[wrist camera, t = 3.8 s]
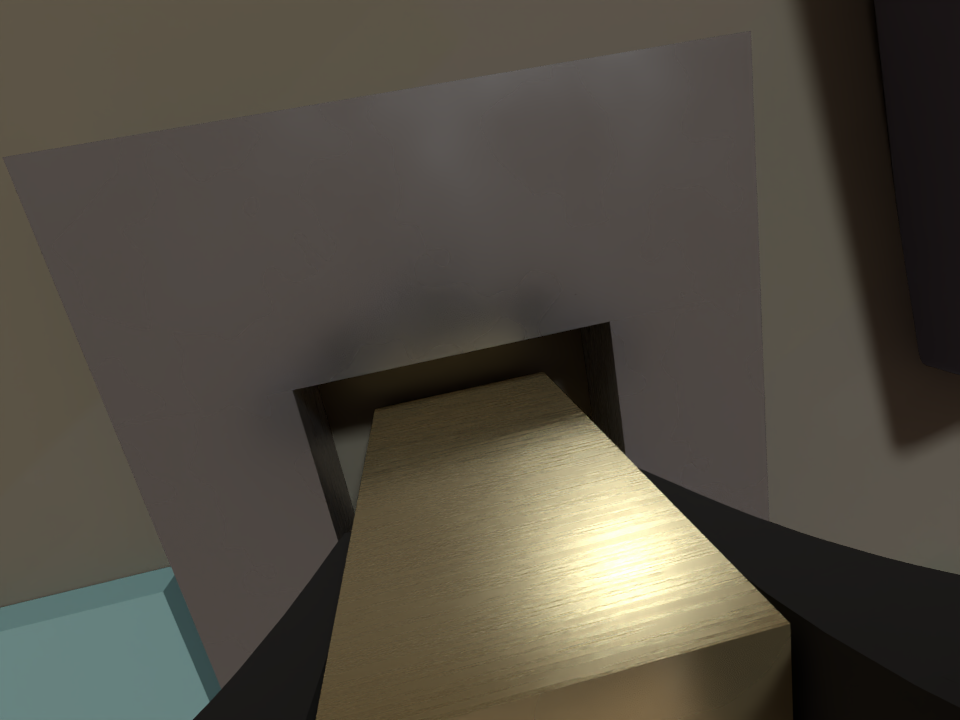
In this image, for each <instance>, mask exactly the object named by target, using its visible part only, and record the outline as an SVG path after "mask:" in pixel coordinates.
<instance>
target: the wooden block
mask: <svg viewBox="0 0 960 720" xmlns="http://www.w3.org/2000/svg"><path fill="white" fill-rule="evenodd" d="M316 720H793V701H792V665H791V628H790V623H789V622H788V621H787V620H786V619H785V618H784V617H783V616H782V615H781V614H780V613H779V612H778V611H777V610H776V609H775V608H774V607H773V605H772V604H771V603H770V602H769V601H768V600H767V599H766V598H765V597H764V596H763V595H762V594H761V593H760V592H759V591H758V590H757V589H756V588H755V587H754V586H753V585H752V584H751V583H750V582H749V581H748V580H747V579H746V578H745V577H744V576H743V575H742V574H741V573H740V572H739V571H738V570H737V569H736V568H735V567H734V566H733V565H732V564H731V563H730V562H729V561H728V560H727V559H726V558H725V557H724V556H723V554H722V553H721V552H720V551H719V550H718V549H717V548H716V547H715V546H714V545H713V544H712V543H711V542H710V541H709V540H708V539H707V538H706V537H705V536H704V535H703V534H702V533H701V532H700V531H699V530H698V529H697V528H696V527H695V526H694V525H693V524H692V523H691V522H690V521H689V520H688V519H687V518H686V517H685V516H684V515H683V514H682V513H681V512H680V511H679V510H678V509H677V508H676V507H675V506H674V505H673V503H672V502H671V501H670V500H669V499H668V498H667V497H666V496H665V495H664V494H663V493H662V492H661V491H660V490H659V489H658V488H657V487H656V486H655V485H654V484H653V483H652V482H651V481H650V480H649V479H648V478H647V477H646V476H645V475H644V474H643V473H642V472H641V471H640V470H639V469H638V468H637V467H636V466H635V465H634V464H633V463H632V462H631V461H630V460H629V459H628V458H627V457H626V456H625V455H624V454H623V452H622V451H621V450H620V449H619V448H618V447H617V446H616V445H615V444H614V443H613V442H612V441H611V440H610V439H609V438H608V437H607V436H606V435H605V434H604V433H603V432H602V431H601V430H600V429H599V428H598V427H597V426H596V425H595V424H594V423H593V422H592V421H591V420H590V419H589V418H588V417H587V416H586V415H585V414H584V413H583V412H582V411H581V410H580V409H579V408H578V407H577V406H576V405H575V404H574V402H573V401H572V400H571V399H570V398H569V397H568V396H567V395H566V394H565V393H564V392H563V391H562V390H561V389H560V388H559V387H558V386H557V385H556V384H555V383H554V382H553V381H552V380H551V379H550V378H549V377H548V376H547V375H546V374H545V373H544V372H540V373H535V374H531V375H526V376H522V377H517V378H513V379H508V380H504V381H499V382H495V383H490V384H486V385H481V386H477V387H472V388H468V389H463V390H459V391H454V392H450V393H445V394H441V395H436V396H432V397H427V398H423V399H418V400H414V401H409V402H405V403H400V404H396V405H391V406H387V407H382V408H378V409H375V412H374V417H373V423H372V428H371V433H370V438H369V443H368V449H367V454H366V459H365V464H364V470H363V475H362V480H361V485H360V490H359V496H358V501H357V506H356V511H355V517H354V522H353V527H352V532H351V537H350V543H349V548H348V553H347V558H346V564H345V569H344V574H343V579H342V584H341V590H340V595H339V600H338V605H337V611H336V616H335V621H334V626H333V631H332V637H331V642H330V647H329V652H328V658H327V663H326V668H325V673H324V678H323V684H322V689H321V694H320V699H319V705H318V710H317V715H316Z"/></svg>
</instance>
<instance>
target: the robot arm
mask: <svg viewBox="0 0 960 720" xmlns="http://www.w3.org/2000/svg"><path fill="white" fill-rule="evenodd" d="M638 469H639V470H640V471H641V472H642V473H643V474H644V475H645V476H646V477H647V478H648V479H649V480H650V481H651V482H652V483H653V484H654V485H655V486H656V487H657V488H658V489H659V490H660V491H661V492H662V493H663V494H664V495H665V496H666V497H667V498H668V499H669V500H670V501H671V502H672V503H673V505H674V506H675V507H676V508H677V509H678V510H679V511H680V512H681V513H682V514H683V515H684V516H685V517H686V518H687V519H688V520H689V521H690V522H691V523H692V524H693V525H694V526H695V527H696V528H697V529H698V530H699V531H700V532H701V533H702V534H703V535H704V536H705V537H706V538H707V539H708V540H709V541H710V542H711V543H712V544H713V545H714V546H715V547H716V548H717V549H718V550H719V551H720V552H721V553H722V554H723V556H724V557H725V558H726V559H727V560H728V561H729V562H730V563H731V564H732V565H733V566H734V567H735V568H736V569H737V570H738V571H739V572H740V573H741V574H742V575H743V576H744V577H745V578H746V579H747V580H748V581H749V582H750V583H751V584H752V585H753V586H754V587H755V588H756V589H757V590H758V591H759V592H760V593H761V594H762V595H763V596H764V597H765V598H766V599H767V600H768V601H769V602H770V603H771V604H772V605H773V607H774V608H775V609H776V610H777V611H778V612H779V613H780V614H781V615H782V616H783V617H784V618H785V619H786V620H787V621H788V622H789V623H790V628H791V665H792V701H793V720H960V575H958V574H953V573H949V572H944V571H940V570H935V569H931V568H926V567H922V566H917V565H913V564H909V563H905V562H901V561H897V560H893V559H889V558H885V557H882V556H878V555H874V554H871V553H867V552H864V551H860V550H857V549H853V548H850V547H846V546H843V545H840V544H836V543H833V542H829V541H826V540H822V539H819V538H816V537H813V536H810V535H807V534H804V533H800V532H797V531H795V530H792V529H789V528H786V527H783V526H781V525H778V524H775V523H772V522H769V521H767V520H764V519H761V518H758V517H755V516H753V515H750V514H748V513H745V512H742V511H740V510H737V509H735V508H732V507H730V506H727V505H725V504H722V503H720V502H717V501H715V500H712V499H710V498H708V497H705V496H703V495H700V494H698V493H696V492H693V491H691V490H689V489H686V488H684V487H682V486H680V485H677V484H675V483H673V482H670V481H668V480H666V479H663V478H661V477H659V476H656V475H654V474H652V473H649V472H647V471H645V470H642V469H640V468H638ZM350 537H351V532H348V533H344V535H343V536H342V537H341V538H340V540H339V541H338V542H337V544H336V545H335V546H334V548H333V549H332V551H331V552H330V553H329V555H328V556H327V557H326V559H325V560H324V562H323V563H322V564H321V566H320V567H319V569H318V570H317V571H316V573H315V574H314V575H313V577H312V578H311V580H310V581H309V582H308V584H307V585H306V586H305V588H304V589H303V590H302V592H301V593H300V594H299V596H298V597H297V598H296V600H295V601H294V602H293V604H292V605H291V606H290V608H289V609H288V610H287V612H286V613H285V614H284V615H283V617H282V618H281V619H280V620H279V622H278V623H277V624H276V625H275V626H274V628H273V629H272V630H271V631H270V632H269V634H268V635H267V636H266V637H265V638H264V640H263V641H262V642H261V643H260V645H259V646H258V647H257V648H256V649H255V651H254V652H253V653H252V654H251V655H250V657H249V658H248V659H247V660H246V662H245V663H244V664H243V665H242V666H241V668H240V669H239V670H238V671H237V672H236V673H235V674H234V676H233V677H232V678H231V679H230V680H229V681H228V682H227V684H226V685H225V686H224V687H223V688H222V689H221V690H220V691H219V692H218V693H217V694H216V696H215V697H214V698H213V699H212V700H211V701H210V702H209V703H208V704H207V705H206V706H205V707H204V708H203V709H202V710H201V711H200V713H199V714H198V715H197V716H196V717H195V718H194V719H193V720H316V715H317V710H318V705H319V699H320V694H321V689H322V684H323V678H324V673H325V668H326V663H327V658H328V652H329V647H330V642H331V637H332V631H333V626H334V621H335V616H336V611H337V605H338V600H339V595H340V590H341V584H342V579H343V574H344V569H345V564H346V558H347V553H348V548H349V543H350Z"/></svg>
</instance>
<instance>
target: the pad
mask: <svg viewBox="0 0 960 720" xmlns="http://www.w3.org/2000/svg"><path fill="white" fill-rule="evenodd" d="M220 690H221V687H220V684H219V682H218V680H217V677H216V675H215V672H214V670H213V667H212V665H211V663H210V660H209V658H208V655H207V653H206V650H205V648H204V646H203V643H202V641H201V638H200V636H199V633H198V631H197V629H196V626H195V624H194V621H193V619H192V616H191V614H190V612H189V609H188V607H187V604H186V602H185V599H184V597H183V594H182V592H181V590H180V587H179V585H178V582H177V580H176V577H175V575H174V573H173V570H172V568H171V567H167V568H163V569H159V570H155V571H151V572H146V573H142V574H138V575H134V576H130V577H126V578H122V579H118V580H113V581H109V582H105V583H101V584H97V585H93V586H89V587H84V588H80V589H76V590H72V591H68V592H64V593H60V594H55V595H51V596H47V597H43V598H39V599H35V600H31V601H26V602H22V603H18V604H14V605H10V606H6V607H2V608H0V720H193V719H194V718H195V717H196V716H197V715H198V714H199V713H200V711H201V710H202V709H203V708H204V707H205V706H206V705H207V704H208V703H209V702H210V701H211V700H212V699H213V698H214V697H215V696H216V694H217V693H218V692H219V691H220Z"/></svg>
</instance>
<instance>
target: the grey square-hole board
mask: <svg viewBox="0 0 960 720" xmlns="http://www.w3.org/2000/svg"><path fill="white" fill-rule="evenodd" d="M3 160H4V162H5V164H6V167H7V169H8V172H9V174H10V177H11V179H12V181H13V184H14V186H15V189H16V191H17V194H18V196H19V198H20V201H21V203H22V206H23V208H24V211H25V213H26V215H27V218H28V220H29V223H30V225H31V228H32V230H33V232H34V235H35V237H36V240H37V242H38V245H39V247H40V249H41V252H42V254H43V257H44V259H45V262H46V264H47V266H48V269H49V271H50V274H51V276H52V279H53V281H54V283H55V286H56V288H57V291H58V293H59V296H60V298H61V300H62V303H63V305H64V308H65V310H66V313H67V315H68V317H69V320H70V322H71V325H72V327H73V330H74V332H75V334H76V337H77V339H78V342H79V344H80V347H81V349H82V351H83V354H84V356H85V359H86V361H87V364H88V366H89V368H90V371H91V373H92V376H93V378H94V381H95V383H96V386H97V388H98V390H99V393H100V395H101V398H102V400H103V403H104V405H105V407H106V410H107V412H108V415H109V417H110V420H111V422H112V424H113V427H114V429H115V432H116V434H117V437H118V439H119V441H120V444H121V446H122V449H123V451H124V454H125V456H126V458H127V461H128V463H129V466H130V468H131V471H132V473H133V475H134V478H135V480H136V483H137V485H138V488H139V490H140V492H141V495H142V497H143V500H144V502H145V505H146V507H147V509H148V512H149V514H150V517H151V519H152V522H153V524H154V526H155V529H156V531H157V534H158V536H159V539H160V541H161V543H162V546H163V548H164V551H165V553H166V556H167V558H168V560H169V563H170V565H171V568H172V570H173V573H174V575H175V577H176V580H177V582H178V585H179V587H180V590H181V592H182V594H183V597H184V599H185V602H186V604H187V607H188V609H189V612H190V614H191V616H192V619H193V621H194V624H195V626H196V629H197V631H198V633H199V636H200V638H201V641H202V643H203V646H204V648H205V650H206V653H207V655H208V658H209V660H210V663H211V665H212V667H213V670H214V672H215V675H216V677H217V680H218V682H219V684H220V687H221V689H222V688H223V687H224V686H225V685H226V684H227V682H228V681H229V680H230V679H231V678H232V677H233V676H234V674H235V673H236V672H237V671H238V670H239V669H240V668H241V666H242V665H243V664H244V663H245V662H246V660H247V659H248V658H249V657H250V655H251V654H252V653H253V652H254V651H255V649H256V648H257V647H258V646H259V645H260V643H261V642H262V641H263V640H264V638H265V637H266V636H267V635H268V634H269V632H270V631H271V630H272V629H273V628H274V626H275V625H276V624H277V623H278V622H279V620H280V619H281V618H282V617H283V615H284V614H285V613H286V612H287V610H288V609H289V608H290V606H291V605H292V604H293V602H294V601H295V600H296V598H297V597H298V596H299V594H300V593H301V592H302V590H303V589H304V588H305V586H306V585H307V584H308V582H309V581H310V580H311V578H312V577H313V575H314V574H315V573H316V571H317V570H318V569H319V567H320V566H321V564H322V563H323V562H324V560H325V559H326V557H327V556H328V555H329V553H330V552H331V551H332V549H333V548H334V546H335V545H336V544H337V542H338V541H339V540H340V538H341V537H342V536H343V535H344V533H348V532H352V527H353V522H354V517H355V513H354V510H353V507H352V503H351V500H350V496H349V493H348V489H347V486H346V482H345V479H344V475H343V472H342V468H341V465H340V461H339V458H338V454H337V451H336V447H335V444H334V440H333V437H332V434H331V430H330V427H329V423H328V420H327V416H326V413H325V409H324V406H323V402H322V399H321V395H320V392H319V388H318V384H323V383H328V382H332V381H337V380H342V379H346V378H351V377H355V376H360V375H365V374H369V373H374V372H378V371H383V370H388V369H392V368H397V367H402V366H406V365H411V364H415V363H420V362H425V361H429V360H434V359H439V358H443V357H448V356H452V355H457V354H462V353H466V352H471V351H475V350H480V349H485V348H489V347H494V346H499V345H503V344H508V343H512V342H517V341H522V340H526V339H531V338H535V337H540V336H545V335H549V334H554V333H559V332H563V331H568V330H572V329H577V328H581V334H582V342H583V349H584V356H585V364H586V371H587V378H588V386H589V393H590V401H591V408H592V415H593V423H594V424H595V425H596V426H597V427H598V428H599V429H600V430H601V431H602V432H603V433H604V434H605V435H606V436H607V437H608V438H609V439H610V440H611V441H612V442H613V443H614V444H615V445H616V446H617V447H618V448H619V449H620V450H621V451H622V452H623V454H624V455H625V456H626V457H627V458H628V459H629V460H630V461H631V462H632V463H633V464H634V465H635V466H636V467H637V468H640V469H642V470H645V471H647V472H649V473H652V474H654V475H656V476H659V477H661V478H663V479H666V480H668V481H670V482H673V483H675V484H677V485H680V486H682V487H684V488H686V489H689V490H691V491H693V492H696V493H698V494H700V495H703V496H705V497H708V498H710V499H712V500H715V501H717V502H720V503H722V504H725V505H727V506H730V507H732V508H735V509H737V510H740V511H742V512H745V513H748V514H750V515H753V516H755V517H758V518H761V519H764V520H767V521H769V503H768V476H767V449H766V423H765V396H764V369H763V343H762V316H761V289H760V263H759V236H758V209H757V183H756V156H755V129H754V103H753V76H752V49H751V31H747V32H741V33H736V34H730V35H724V36H718V37H712V38H706V39H700V40H694V41H688V42H682V43H676V44H670V45H665V46H659V47H653V48H647V49H641V50H635V51H629V52H623V53H617V54H611V55H605V56H599V57H594V58H588V59H582V60H576V61H570V62H564V63H558V64H552V65H546V66H540V67H534V68H528V69H522V70H517V71H511V72H505V73H499V74H493V75H487V76H481V77H475V78H469V79H463V80H457V81H451V82H446V83H440V84H434V85H428V86H422V87H416V88H410V89H404V90H398V91H392V92H386V93H380V94H374V95H369V96H363V97H357V98H351V99H345V100H339V101H333V102H327V103H321V104H315V105H309V106H303V107H298V108H292V109H286V110H280V111H274V112H268V113H262V114H256V115H250V116H244V117H238V118H232V119H227V120H221V121H215V122H209V123H203V124H197V125H191V126H185V127H179V128H173V129H167V130H161V131H155V132H150V133H144V134H138V135H132V136H126V137H120V138H114V139H108V140H102V141H96V142H90V143H84V144H79V145H73V146H67V147H61V148H55V149H49V150H43V151H37V152H31V153H25V154H19V155H13V156H8V157H3Z"/></svg>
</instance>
